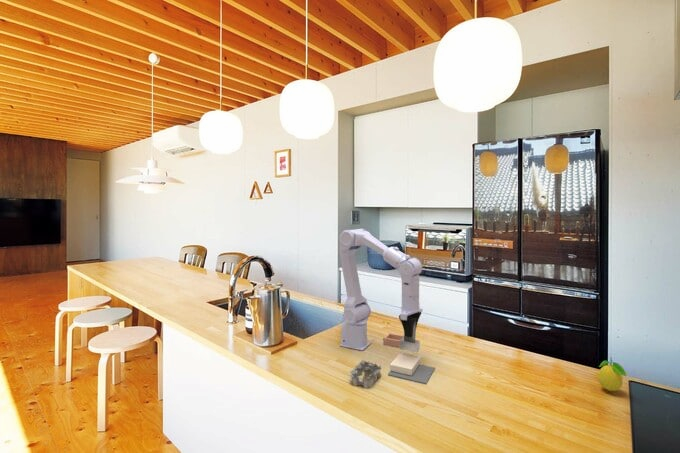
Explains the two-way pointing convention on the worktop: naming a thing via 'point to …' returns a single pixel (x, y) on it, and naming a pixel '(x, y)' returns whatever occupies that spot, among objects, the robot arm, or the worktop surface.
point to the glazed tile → (405, 364)
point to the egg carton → (365, 374)
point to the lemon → (611, 376)
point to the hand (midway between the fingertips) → (410, 334)
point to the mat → (416, 374)
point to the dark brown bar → (410, 342)
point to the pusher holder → (392, 340)
